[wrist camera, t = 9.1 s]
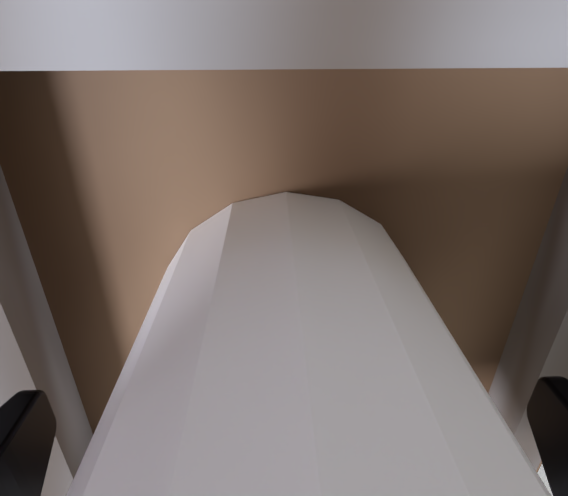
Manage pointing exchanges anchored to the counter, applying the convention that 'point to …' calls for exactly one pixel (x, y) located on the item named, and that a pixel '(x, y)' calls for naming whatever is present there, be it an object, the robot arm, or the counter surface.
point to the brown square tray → (277, 170)
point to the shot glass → (298, 373)
